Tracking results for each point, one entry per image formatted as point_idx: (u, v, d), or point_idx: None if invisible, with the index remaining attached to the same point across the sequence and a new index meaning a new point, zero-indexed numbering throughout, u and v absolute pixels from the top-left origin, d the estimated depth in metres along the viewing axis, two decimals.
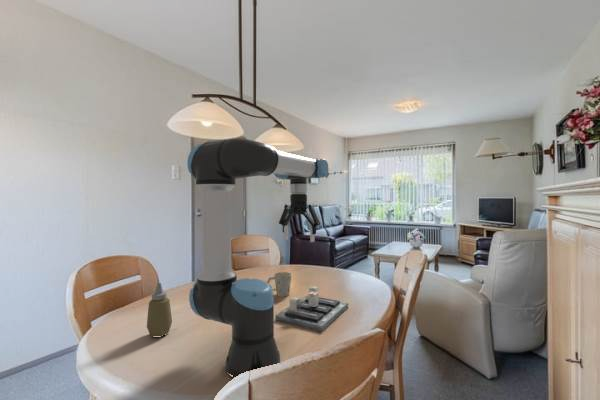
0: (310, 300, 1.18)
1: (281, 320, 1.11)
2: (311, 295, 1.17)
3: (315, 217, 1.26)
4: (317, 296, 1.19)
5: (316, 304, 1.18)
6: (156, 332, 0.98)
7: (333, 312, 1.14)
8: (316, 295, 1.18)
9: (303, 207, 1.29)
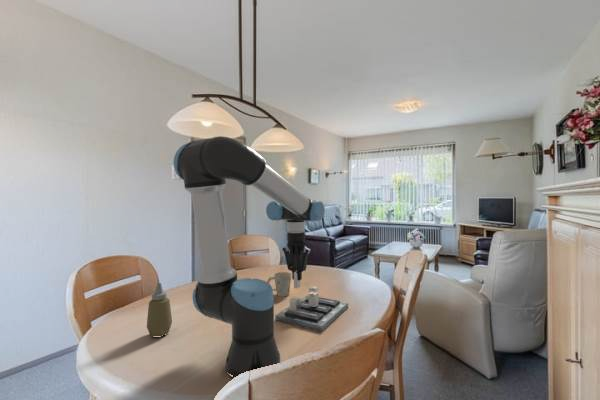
0: (310, 300, 1.18)
1: (281, 320, 1.11)
2: (311, 295, 1.17)
3: (304, 263, 1.20)
4: (317, 296, 1.19)
5: (316, 304, 1.18)
6: (156, 332, 0.98)
7: (333, 312, 1.14)
8: (316, 295, 1.18)
9: (300, 247, 1.20)
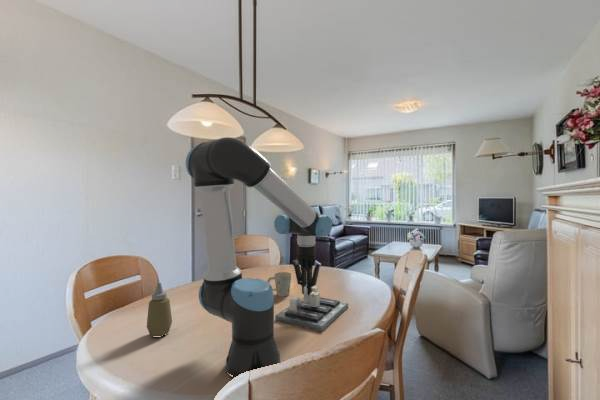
0: (311, 300, 1.18)
1: (281, 320, 1.11)
2: (312, 295, 1.17)
3: (315, 278, 1.17)
4: (318, 296, 1.18)
5: (317, 304, 1.17)
6: (156, 332, 0.98)
7: (333, 312, 1.14)
8: (317, 295, 1.18)
9: (311, 261, 1.18)
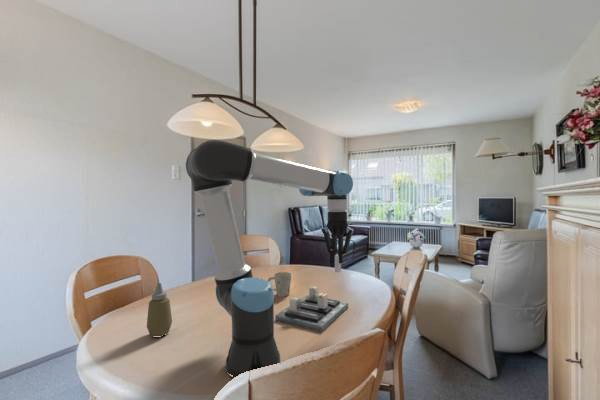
0: (319, 301, 1.16)
1: (281, 320, 1.11)
2: (320, 297, 1.15)
3: (347, 245, 1.11)
4: (326, 298, 1.16)
5: (325, 306, 1.16)
6: (156, 332, 0.98)
7: (333, 312, 1.14)
8: (325, 296, 1.16)
9: (343, 227, 1.11)
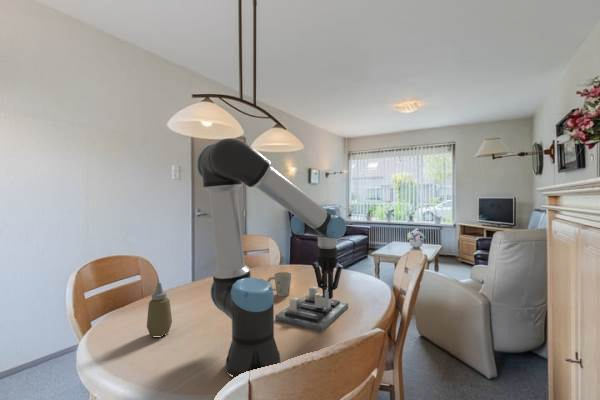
0: (316, 301, 1.16)
1: (281, 320, 1.11)
2: (317, 296, 1.16)
3: (337, 281, 1.13)
4: None
5: (322, 305, 1.16)
6: (156, 332, 0.98)
7: (333, 312, 1.14)
8: None
9: (332, 263, 1.13)
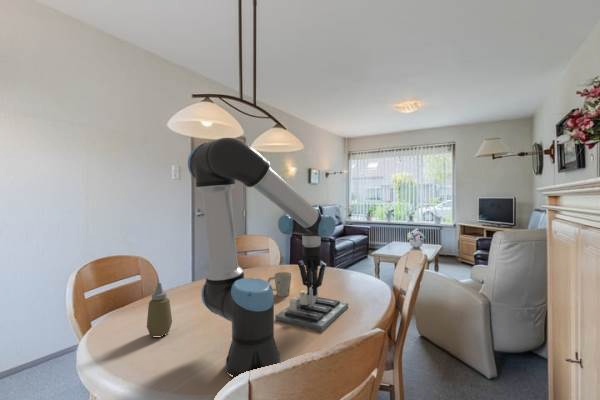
0: (301, 298, 1.20)
1: (281, 320, 1.11)
2: (302, 293, 1.19)
3: (320, 279, 1.16)
4: None
5: (307, 302, 1.20)
6: (156, 332, 0.98)
7: (333, 312, 1.14)
8: (307, 293, 1.20)
9: (316, 261, 1.17)
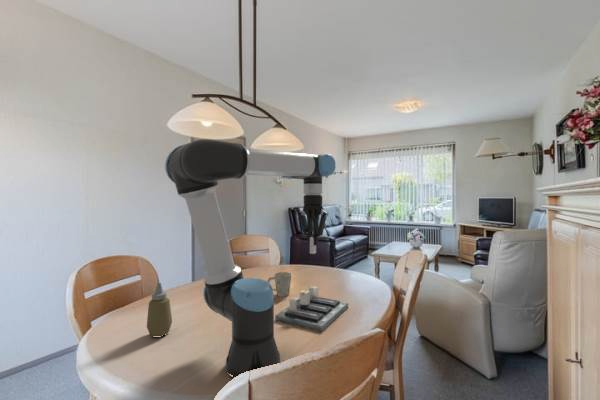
0: (301, 298, 1.20)
1: (281, 320, 1.11)
2: (302, 293, 1.19)
3: (321, 227, 1.14)
4: (308, 294, 1.21)
5: (307, 302, 1.20)
6: (156, 332, 0.98)
7: (333, 312, 1.14)
8: (307, 293, 1.20)
9: (317, 209, 1.15)
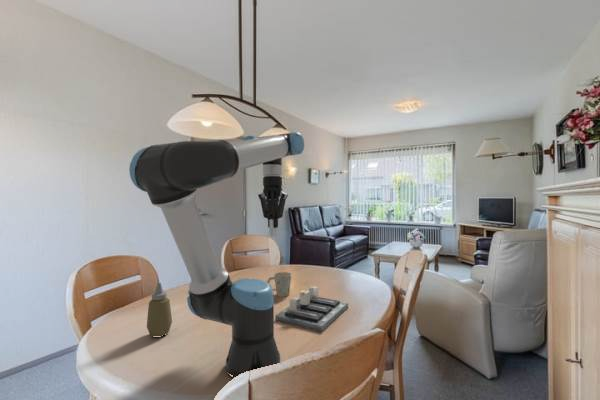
0: (301, 298, 1.20)
1: (281, 320, 1.11)
2: (302, 293, 1.19)
3: (281, 209, 1.12)
4: (308, 294, 1.21)
5: (307, 302, 1.20)
6: (156, 332, 0.98)
7: (333, 312, 1.14)
8: (307, 293, 1.20)
9: (276, 191, 1.13)
